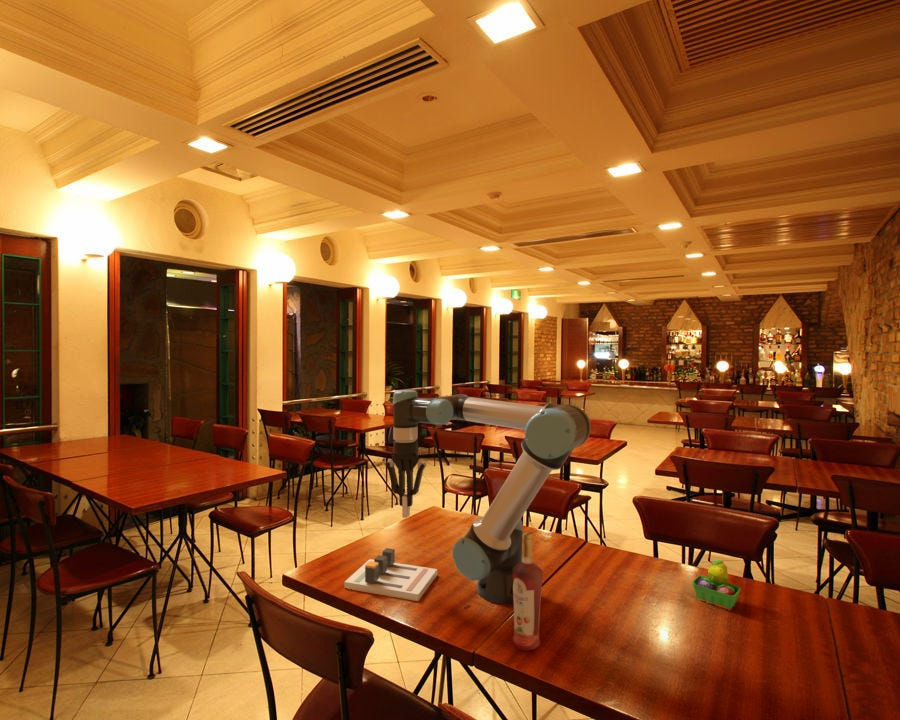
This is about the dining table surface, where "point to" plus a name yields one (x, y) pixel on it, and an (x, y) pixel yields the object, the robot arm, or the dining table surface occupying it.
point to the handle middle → (381, 563)
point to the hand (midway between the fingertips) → (406, 516)
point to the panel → (395, 581)
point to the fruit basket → (716, 586)
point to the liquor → (527, 598)
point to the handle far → (389, 556)
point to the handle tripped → (371, 572)
